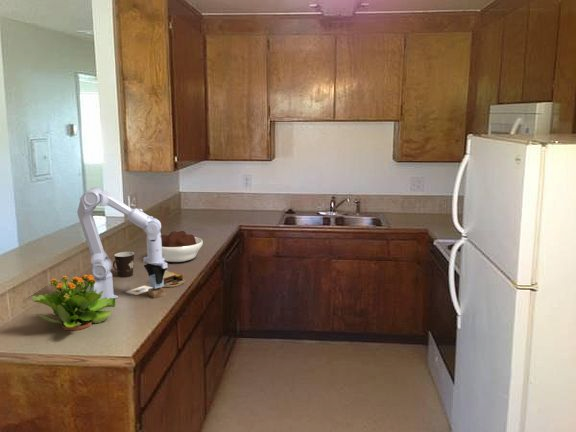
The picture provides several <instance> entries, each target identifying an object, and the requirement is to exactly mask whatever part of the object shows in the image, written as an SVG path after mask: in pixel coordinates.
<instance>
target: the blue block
mask: <svg viewBox="0 0 576 432" xmlns="http://www.w3.org/2000/svg"><path fill="white" fill-rule="evenodd" d="M148 278H149V281H148V282H149V287H152V288H155V289H156V288H159V287H162V288H164V287H163V286H164V279H163V281H162V283H161V284H157V283H156V278H155V274H154V275H150V276H149V275H148Z"/></svg>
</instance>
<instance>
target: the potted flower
mask: <svg viewBox="0 0 576 432" xmlns="http://www.w3.org/2000/svg"><path fill="white" fill-rule="evenodd" d="M93 278H94V276H93V275H92V274H90V275H87V274H82V275H81V276H80V277H78V276H75V277H73V278H72V279H70V281H69V277H68V276H67V275H64V276H63V275H62V277H61V281H62V282H60V280H58V279H57V278H52V279H50V285H51V286H54V288H55V292H54V293H51V294H50V293H45V294H44V295H43V294H38V295H37V296H36V295H33V296H32V297H31V298H32V300H33V301H34V302H35V303H41V304H43V305H46V306H48V307H50V308H51V310H52V311H53V313H54V314H50V315H51V316H56V317H58V318H59V319H60V320H57V319H54V318H50V317H49V316H45V315H42V314H38V313H35V315H36V316H38V317H40V318H41V319H43V320H45V321H48V322H50V323H54V324H57V325H58V324H60V325H61V327H62V329H63V330H64V331H80V330H84V329H86V328H89V327H91V325H92V324H93V323H94V324H96V325H97V324H98V323H99V324H100V323H102V322H105V321H106V320H107V319H108V318H109V317H110V315H112V311H110V310H103V309H105V308H115V305H116V298H109V299H108V298H107V297H105V298H102V299H101V296H102V294H103V291H101V292H100V293H98V294H97V293H95V292H96V291H97V290H95V291H94V289H93V290H92V288H93V287H94V284H95V283H96V281H95V280H94V279H93ZM87 283H89V284H87ZM90 285H91V286H90ZM88 286H90V291H89V292H87V288H88ZM92 286H93V287H92ZM91 290H92V292H91ZM59 292H60V293H59ZM93 292H94V293H93Z"/></svg>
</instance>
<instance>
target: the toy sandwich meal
mask: <svg viewBox="0 0 576 432" xmlns="http://www.w3.org/2000/svg"><path fill="white" fill-rule="evenodd" d="M184 275H185V274H184V273H182V274H181V275H180V274H177V273H175V272H173V271H172V272H171V271H168V270H166V271H165V273H164V276H163V279H164V286H163V287H162V288H164V287H165V288H164V289H167V288H166V287H170V288H177V287H180V286H182V285H184V283H185V279H184ZM179 285H180V286H179ZM176 286H177V287H176Z"/></svg>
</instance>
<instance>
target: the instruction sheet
mask: <svg viewBox="0 0 576 432" xmlns="http://www.w3.org/2000/svg"><path fill="white" fill-rule="evenodd" d="M150 288H152V287H150V286H147V285H141V286H139V287H136V288H133V289H132V288H131V289H129V290H127V291H125V293H127V294H131V295H135V296H138V295H140V294H144V293H146V292H147V293H148V289H150Z"/></svg>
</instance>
